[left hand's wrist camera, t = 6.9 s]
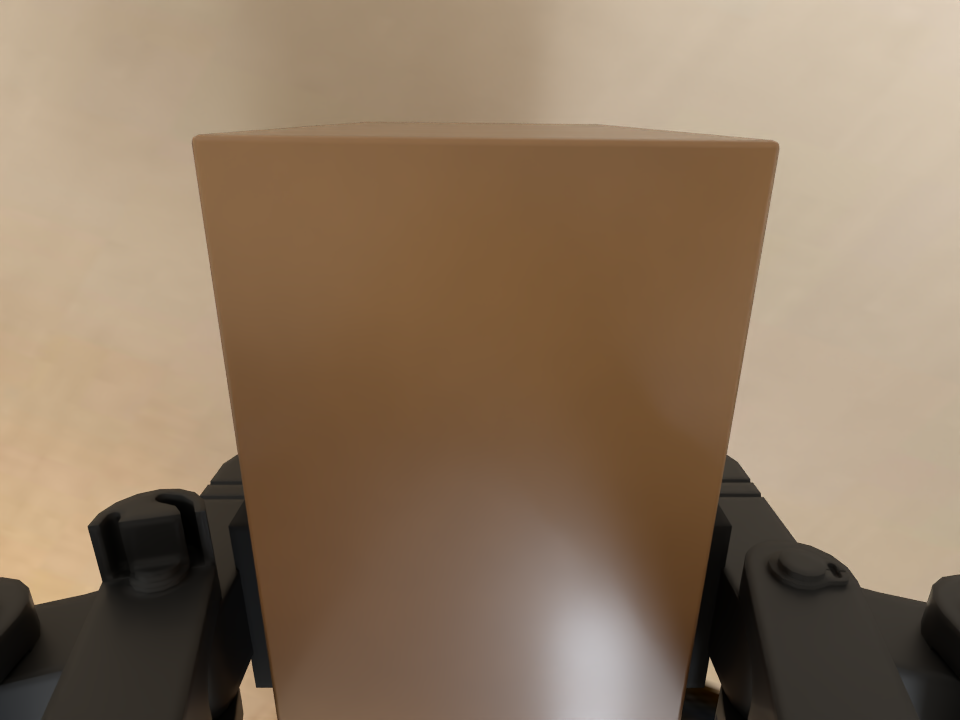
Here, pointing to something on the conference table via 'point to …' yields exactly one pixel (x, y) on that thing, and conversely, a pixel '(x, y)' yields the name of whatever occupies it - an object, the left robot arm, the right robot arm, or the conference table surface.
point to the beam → (482, 405)
